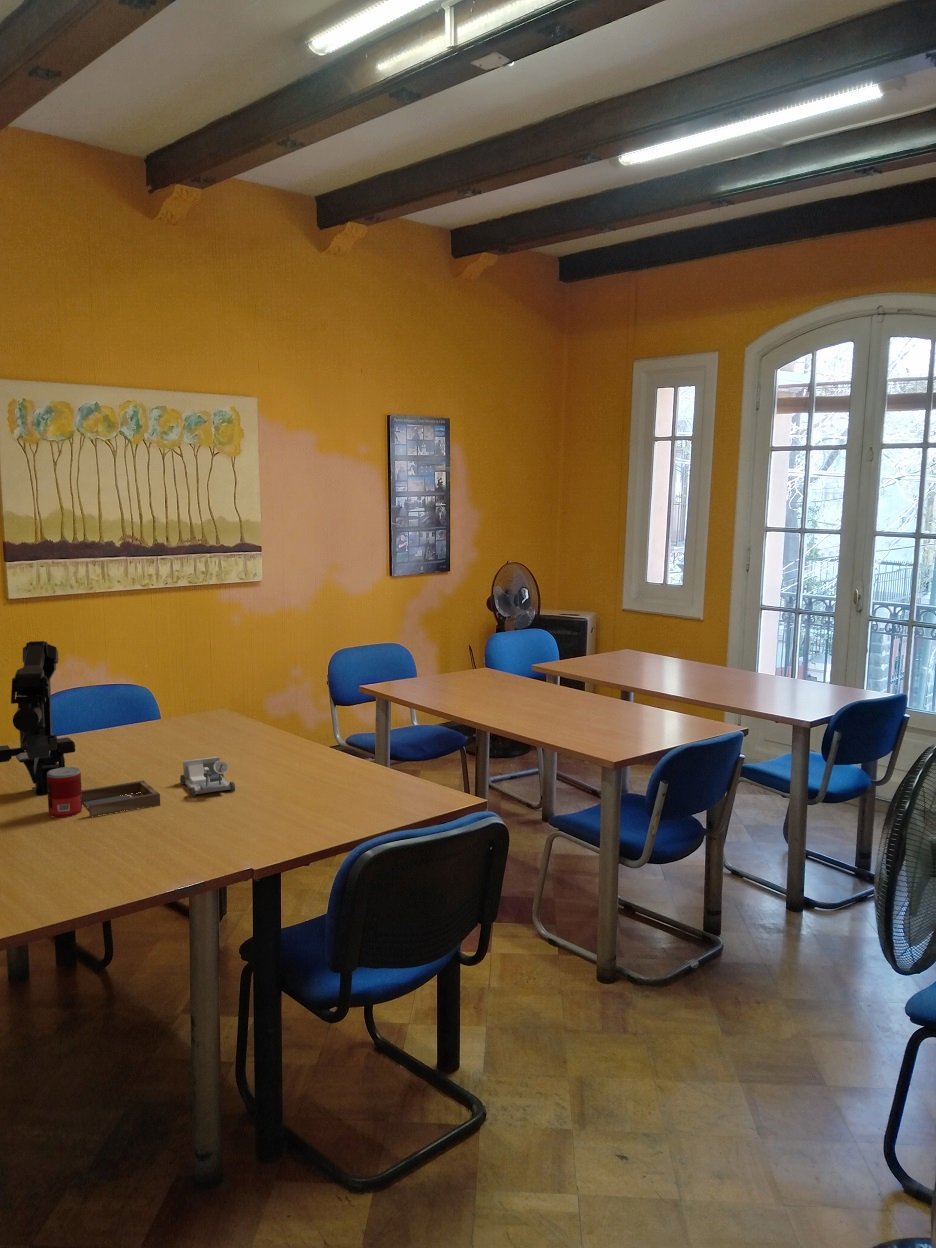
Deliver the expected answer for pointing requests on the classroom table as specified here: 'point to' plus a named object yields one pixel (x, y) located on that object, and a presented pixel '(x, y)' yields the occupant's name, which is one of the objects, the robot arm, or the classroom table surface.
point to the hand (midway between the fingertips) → (35, 783)
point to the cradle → (145, 800)
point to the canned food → (64, 791)
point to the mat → (109, 799)
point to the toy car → (205, 775)
